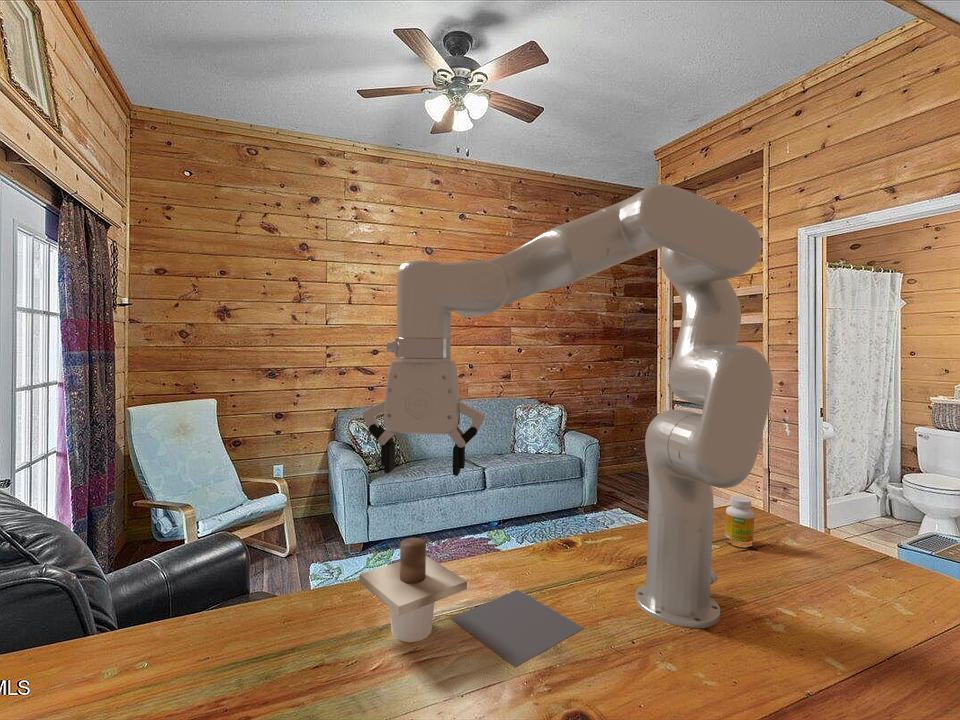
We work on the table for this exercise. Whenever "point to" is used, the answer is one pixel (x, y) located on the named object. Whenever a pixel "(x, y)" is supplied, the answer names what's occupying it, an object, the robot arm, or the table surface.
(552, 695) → the table surface
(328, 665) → the table surface
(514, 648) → the mat
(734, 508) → the supplement bottle
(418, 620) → the white cup
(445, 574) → the lid
